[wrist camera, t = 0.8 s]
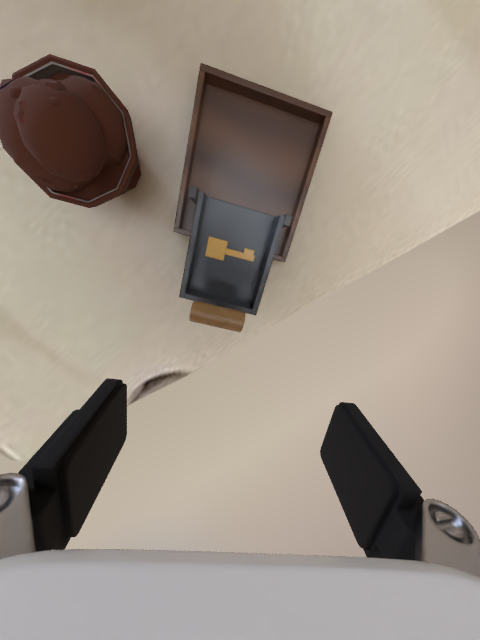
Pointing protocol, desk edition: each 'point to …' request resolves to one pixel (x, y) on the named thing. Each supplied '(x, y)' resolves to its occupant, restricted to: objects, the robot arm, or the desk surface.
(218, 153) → the tray
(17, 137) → the ice cream bowl
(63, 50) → the desk surface
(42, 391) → the desk surface
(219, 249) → the key
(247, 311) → the scoop
